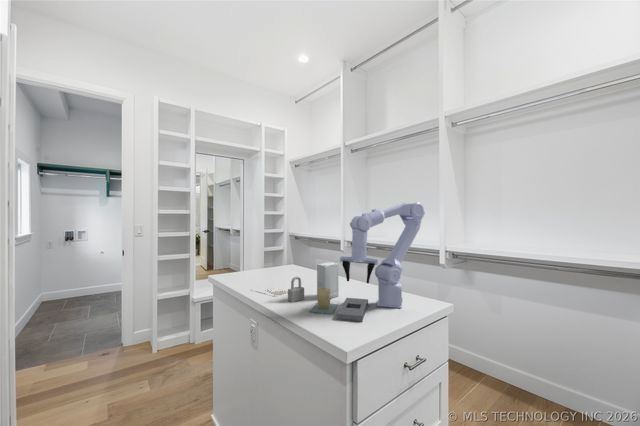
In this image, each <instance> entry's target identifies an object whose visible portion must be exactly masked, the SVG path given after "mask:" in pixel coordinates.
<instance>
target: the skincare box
mask: <svg viewBox="0 0 640 426" xmlns="http://www.w3.org/2000/svg"><path fill="white" fill-rule="evenodd" d="M320 288H329V289H330V299H331V298H336V297H339V263H337V262H332V261H327V262H324V263H318V264H316V296H317V297H316V298H318V290H319V289H320Z"/></svg>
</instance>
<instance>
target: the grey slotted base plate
mask: <svg viewBox="0 0 640 426" xmlns="http://www.w3.org/2000/svg"><path fill="white" fill-rule="evenodd" d="M368 306H369V299H368V298H357V297H355V298H354V297H346V298H345V299H344V302H343V303H342V305H341V306H340V308H339V309H338V312H337V313H336V320H339V321H349V322H358V323H359V322H360V323H362V322H363V320H364V318H365V315H366V312H367V310H368Z"/></svg>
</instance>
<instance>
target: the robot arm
mask: <svg viewBox="0 0 640 426" xmlns="http://www.w3.org/2000/svg"><path fill="white" fill-rule="evenodd" d="M425 213H426V212H425V209H424V205H423V204H422V203H421V202H419V201H418V202H417V201H416V202H409V203H408V202H407V203H406V202H402V203H400V204H398V203H397V204H395V205H393V206H390V207H388V208H386V209H383V210H382V211H381V210H379V209H377V208H374V209H371V211H369V212H367V213H366V212H363V213H362V214H361V215H356V216H353V218H351V220H350V221H351V222H349V226H350V228H351V232H352V235H351V237H352V238H351V241H352V242H351V256H340V257H339V262H340V263H341V265H342V267H343V269H344V273H345V276H346V282H350V275H351V274H350V269H351V263H355V264H367V266H366V267H367V272H366V273H367V274H366V284H369V283H370V279H371V275H372V272H373V270H374V268H375V266H376V268H375V270H374V274H375V277H376V279H377V281H378V283H377V284H378V290H377V291H378V293H377V294H378V297H377V298H378V299H377V303H376V307H385V308H398V309H402V304H403V297H402V296H403V295H402V294H403V293H402V290H403V289H402V286H403V285H402V283H400V279H401V274H402V272H403V267H402V264H401V263H402V262H403V260H404V258H405V256H406V255H407V253H408V251H409V249H410V248H411V245H412V244H413V242H414V240H415V239H416V236H417V235H418V233H419V231H420V230H421V229H420V228H421V223H422V219H423V218H424V216H425ZM398 215H399V218H400V220H401V221H402V223H403V224H404V228H403V230H402V232H401V234H400V236H399V237H398V238H397V240H396V243H395V244H394V247H393V248H392V250H391V252H390V254H389V255H388V257H386V258H385V259H382V261H381V262H380V264H379V259H378V258H370V257H367V253H368V252H367V249H368V231H369V230H370V229H371V228H373V227H375V226H377V225H380V224H383V223H384V221H385V219H388V218H391V217H394V216H398Z"/></svg>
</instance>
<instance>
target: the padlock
mask: <svg viewBox="0 0 640 426" xmlns="http://www.w3.org/2000/svg"><path fill="white" fill-rule="evenodd" d="M296 280H298V286H296V287H295V281H296ZM290 284H291V285H290V288H288V289H287V291H288V293H287V301H288V302H290V303H295V302H298V301H301V300H304V299H305V287H303V286H302V279H301V277H299V276H294V277H293V278H292V279H291V282H290Z"/></svg>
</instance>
